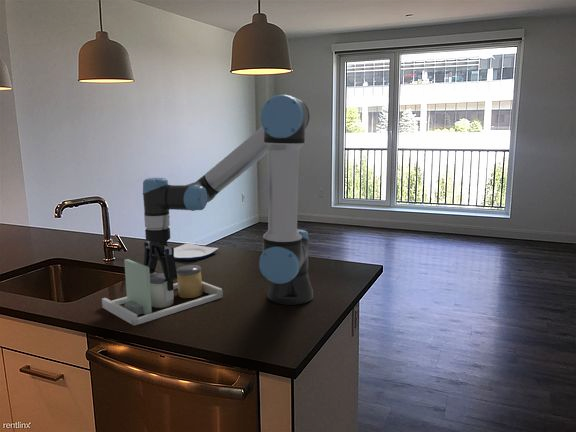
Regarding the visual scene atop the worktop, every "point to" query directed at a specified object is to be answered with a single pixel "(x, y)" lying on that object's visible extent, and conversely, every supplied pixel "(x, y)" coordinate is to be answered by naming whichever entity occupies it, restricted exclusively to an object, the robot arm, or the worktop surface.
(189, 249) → the plate
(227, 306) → the worktop surface
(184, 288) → the amber jar
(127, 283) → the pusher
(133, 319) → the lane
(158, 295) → the cream jar
